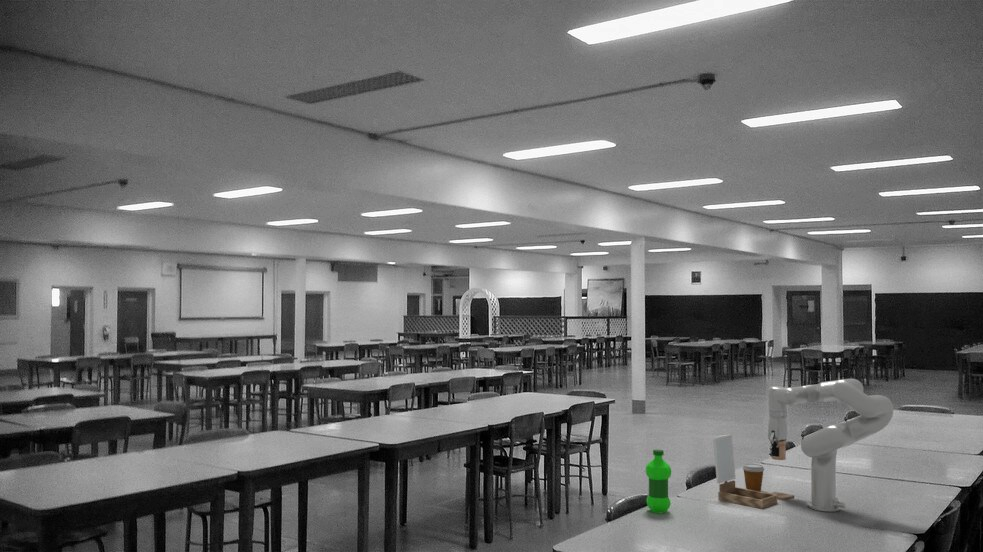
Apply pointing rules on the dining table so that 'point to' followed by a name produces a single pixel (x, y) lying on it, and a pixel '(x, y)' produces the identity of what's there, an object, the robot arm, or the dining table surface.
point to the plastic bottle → (658, 483)
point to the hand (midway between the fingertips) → (778, 454)
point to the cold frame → (745, 496)
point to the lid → (724, 458)
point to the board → (783, 496)
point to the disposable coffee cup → (753, 476)
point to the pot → (781, 450)
